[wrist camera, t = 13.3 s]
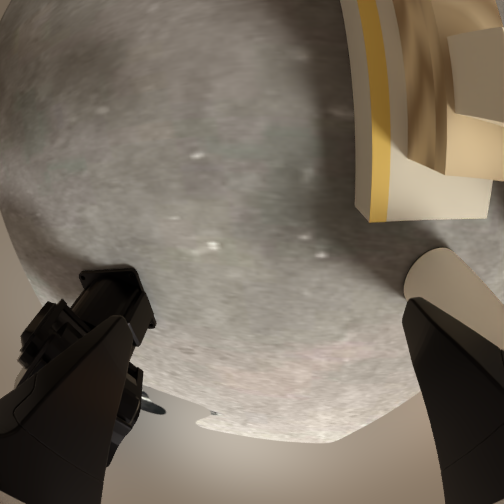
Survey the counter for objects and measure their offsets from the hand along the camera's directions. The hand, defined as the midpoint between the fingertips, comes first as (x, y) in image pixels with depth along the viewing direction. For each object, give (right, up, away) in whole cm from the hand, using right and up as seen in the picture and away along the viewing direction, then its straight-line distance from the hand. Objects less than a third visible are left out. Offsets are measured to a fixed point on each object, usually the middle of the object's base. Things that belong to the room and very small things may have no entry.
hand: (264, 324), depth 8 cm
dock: (+11, +19, +3) cm, 22 cm away
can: (+16, 0, +13) cm, 21 cm away
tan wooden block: (+11, +17, 0) cm, 20 cm away
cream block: (+11, +10, 0) cm, 15 cm away
